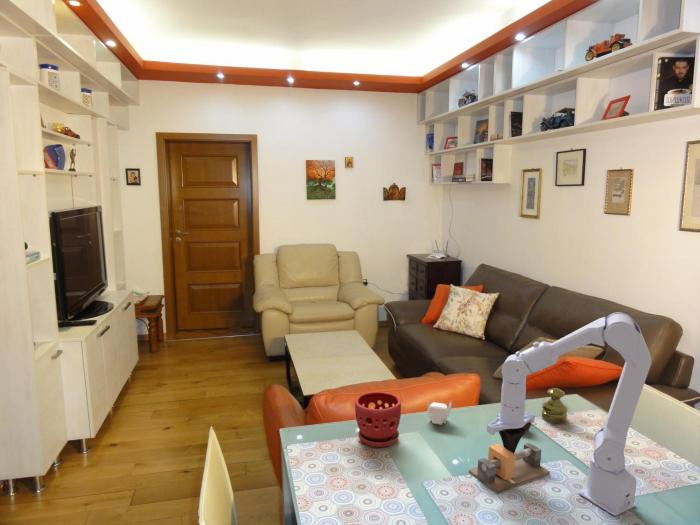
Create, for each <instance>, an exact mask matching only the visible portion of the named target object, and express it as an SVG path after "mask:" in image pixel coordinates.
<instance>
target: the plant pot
mask: <svg viewBox="0 0 700 525" xmlns="http://www.w3.org/2000/svg"><path fill="white" fill-rule="evenodd" d="M379 401H380V402H381V403H378V402H379ZM371 403H373V404H374V407H373V408H371V407H369V405H370V404H371ZM386 404H387V405H388V406H386ZM363 405H364V406H363ZM354 410H355V411H354V412H355V419H356V423H357V424H356V425H357V426H358V429H359V430H358V434H357V435H358V438H359V440H361V442H362V443H364V444H366V445H368V446H370V447H371V446H372V447H375V446H376V447H378V448H382V447H388V446H391V445H393V444H394V443H396V442H397V441H398V439H399V437H400V432H399V430H398V428H399V426H400V422H401V415H402V413H401V412H402V400H401V398H400V397H399V396H397V395H396V394H393V393H391V392H386V391H370V392H369V391H368V392H365V393H363V394H360V395H359V396H357V397H356V398H355V400H354Z"/></svg>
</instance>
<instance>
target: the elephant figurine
mask: <svg viewBox="0 0 700 525" xmlns="http://www.w3.org/2000/svg"><path fill="white" fill-rule="evenodd" d="M452 406H453V404H452V401H451V400H450V401H449V403H448V406H447V404H446V403H441V402H434V401H433V402H432V403H430V402H429V397H428V398H427V412H426V413H427V415H429V422H431V421H432V422H431V424H434V425H443V424H442V423H444V425H445V424H446V423H447V420H448V418H449V416H450V414H451V410H452V409H451V408H452Z"/></svg>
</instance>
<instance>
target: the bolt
mask: <svg viewBox="0 0 700 525" xmlns="http://www.w3.org/2000/svg"><path fill="white" fill-rule="evenodd" d="M531 426H532V423H531V422H528V423H526V424H525V425H524V426H523V427H522V428H524V429H525V433H527V432H528V431H529V430H530V428H531Z"/></svg>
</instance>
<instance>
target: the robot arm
mask: <svg viewBox="0 0 700 525" xmlns="http://www.w3.org/2000/svg"><path fill="white" fill-rule="evenodd" d="M605 343H606V344H607V345H608V346H610V347H611V348H612V349H613V350H615V351H617V352H618V353H619V355H621V357H622V358H623V359H624V361H625V362H624V365H623V368H622V371H621V374H620V376H619V380H618V383H617V386H616V388H615V392H614V395H613V397H612V398H613V399H612V401H611V404H610V408H609V410H608V413H607V416H606V419H605V420H604V421H603V424H602V426H601V428H599V429H598V430H596V432H595V434H594V436H593V442H594V447H593V448H594V450H593V453H592V454H591V455H590V458H589V459H590V460H589V469H588V477H587V478H588V480H587V487H585V488H584V489H581V490H578V495H581V497H583V498H585V499H587V500H588V501H590V502H591V503H593V504H595V505H596V506H598V507H600V508H602V509H603V510H605V511H606V512H608V513H609V514H611V515H612V516H618V515H620V514H623V513H625V512H626V511H628V510H630V509H633V508H635V507H637V506H636V505H637V504H636V503H635V499H636V490H637V479H636V477H635V476H634V475H633V474H632V473H630V472H629V471H628V470H627V468H626V463H625V462H626V458H625V454H624V453H625V452H624V451H625V448H626V443H627V437H628V432H629V429H630V427H631V426H630V425H631V423H632V421H633V417H634V415H635V412H636V409H637V406H638V403H639V400H640V397H641V394H642V391H643V388H644V385H645V382H646V380H647V378H648V374H649V371H650V368H651V366H652V360H653V359H652V356H651V353H650V351H649V348H648V345H647V343H646V341H645V338H644V336H643V333H642V330H641V327H640V326H639V325H638V324H637V322H636V321H635V320H634V319H633V317H631V316H630V315H628V313H625V312H618V311H617V312H613V313H611V314H608V315H607V317H606V316H603V317H600V318H598V319H596V320H594V321H592V322H590V323H587V324H586V325H584V326H582V327H580V328H578V329H576V330H574V331H572V332H571V333H569V334H566V335H565V336H564V337H561V338H559V339H558V340H555V341H553V342H548V341H541V342H539V341H535V342H533V343H532V346H531V347H529V348H527V349H524V350H523V351H520V350H518V351H516V352H515V354H510V355H509V356H507V358H506V359H505V361H504V363H503V364H502V367H501V375H502V384H501V394H500V409H499V413H498V414H497V418H496V419H494V420H493V421H492V422H489V423H488V424H487V425H486V432H487V433H488V434H490V435H492V436H493V435H496V433H498V434H499V435H500V438H501V441H502V446H503V447H504V448H506V449H507V450H509V451H511V452H512V453H515V452H516V451H517V447H518V445H519V443H520V440H521V439H522V438H523V436H524V435H525V434H526V432H525V429H524V428H522V427H523V426H524V425H525V424H526V423H528V422H531V424H532V423H535V419H536V417H535V416H536V415H535V414H533V413H531V412H530V411H528V412H525V411H526V410H525V409H526V408H525V407H526V394H527V386H526V382H527V377H528V375H533V374H535V373H538V372H540V371H542V370H544V369H546V368H549V367H551V366H553V365H555V364H557V363H558V358H559V357H560V356H562V355H565V354H567V353H570V352H573V351H574V350H577V349H579V348H582V347H584V346H586V345H589V344H593V345H597V346H600V347H605Z"/></svg>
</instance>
